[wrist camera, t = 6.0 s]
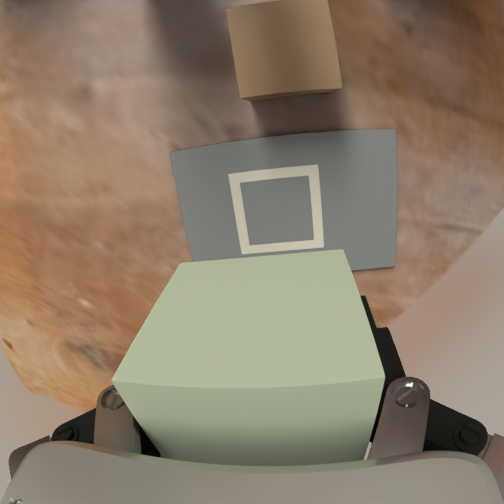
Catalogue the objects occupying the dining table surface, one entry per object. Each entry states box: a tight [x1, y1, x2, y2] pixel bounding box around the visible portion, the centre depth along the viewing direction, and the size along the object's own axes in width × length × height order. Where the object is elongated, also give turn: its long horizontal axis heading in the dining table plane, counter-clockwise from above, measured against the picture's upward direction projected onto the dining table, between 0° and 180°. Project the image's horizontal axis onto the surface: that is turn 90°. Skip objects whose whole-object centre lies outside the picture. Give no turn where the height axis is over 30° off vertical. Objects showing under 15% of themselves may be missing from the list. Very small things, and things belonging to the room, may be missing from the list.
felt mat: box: [169, 129, 398, 271], centre depth 25 cm, size 18×12×1 cm, turn 98°
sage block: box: [111, 249, 385, 466], centre depth 10 cm, size 6×6×6 cm
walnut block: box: [225, 0, 342, 101], centre depth 18 cm, size 6×6×6 cm
